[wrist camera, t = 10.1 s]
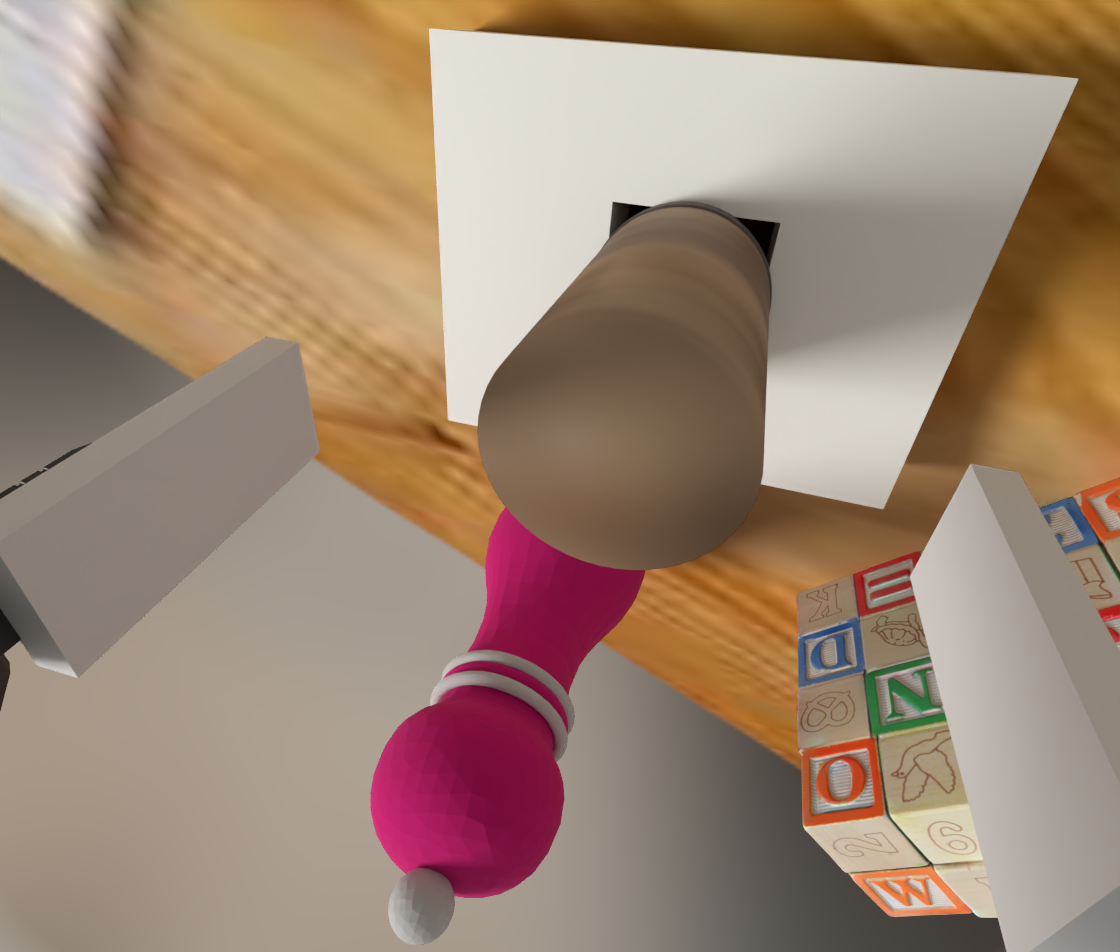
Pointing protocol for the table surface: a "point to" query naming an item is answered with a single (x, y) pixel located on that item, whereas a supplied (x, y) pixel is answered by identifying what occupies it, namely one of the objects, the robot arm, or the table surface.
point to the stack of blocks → (909, 723)
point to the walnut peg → (640, 396)
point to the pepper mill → (493, 734)
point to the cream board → (741, 213)
